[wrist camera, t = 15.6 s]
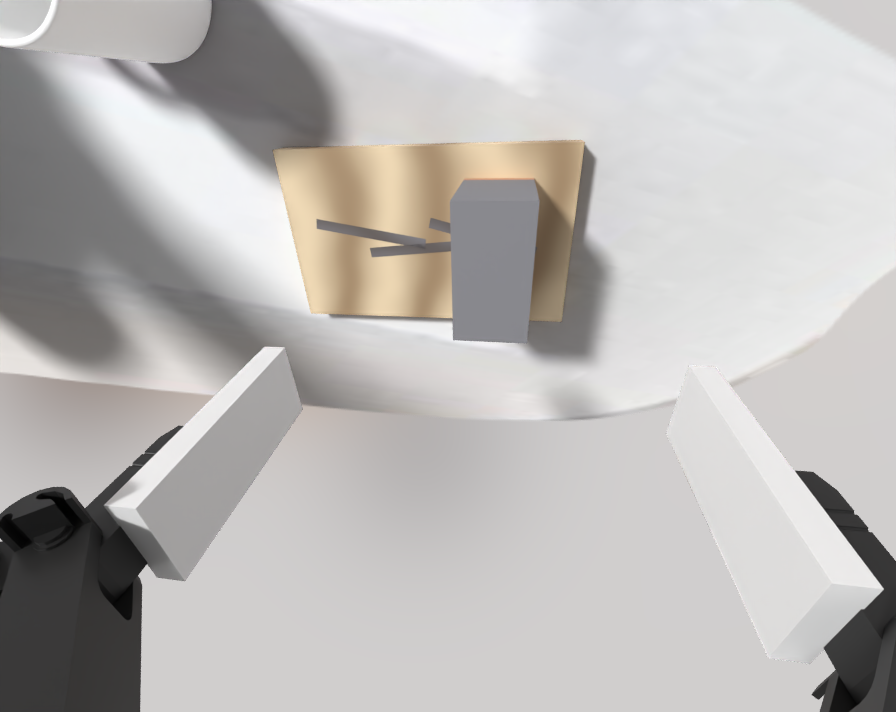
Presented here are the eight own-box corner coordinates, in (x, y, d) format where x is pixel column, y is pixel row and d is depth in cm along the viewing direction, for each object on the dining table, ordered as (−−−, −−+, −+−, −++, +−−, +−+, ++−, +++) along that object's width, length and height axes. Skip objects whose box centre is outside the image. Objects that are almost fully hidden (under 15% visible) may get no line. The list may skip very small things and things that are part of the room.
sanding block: (465, 293, 30) (453, 339, 24) (464, 178, 26) (449, 201, 20) (524, 295, 30) (526, 343, 24) (534, 177, 26) (539, 201, 20)
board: (318, 305, 34) (310, 313, 33) (283, 147, 28) (272, 149, 27) (559, 313, 32) (561, 321, 30) (581, 139, 25) (584, 142, 24)
